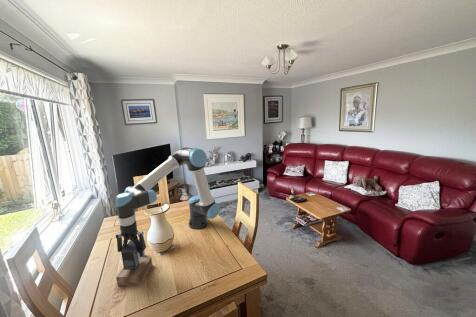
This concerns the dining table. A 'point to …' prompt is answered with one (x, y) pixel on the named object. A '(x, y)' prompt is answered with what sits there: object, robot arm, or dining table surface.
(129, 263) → the small box
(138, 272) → the walnut base
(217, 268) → the dining table surface
